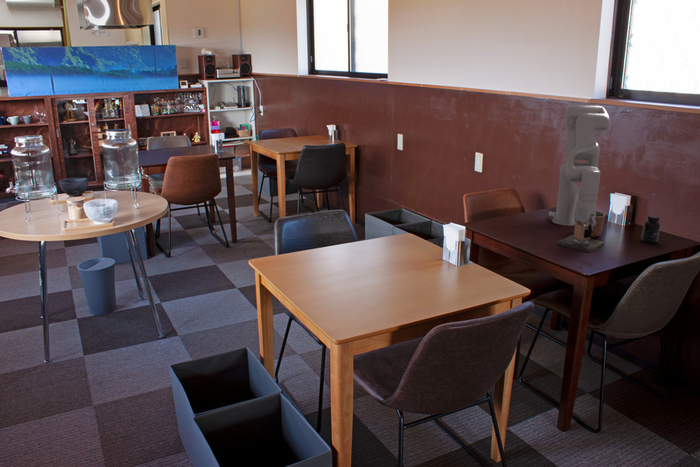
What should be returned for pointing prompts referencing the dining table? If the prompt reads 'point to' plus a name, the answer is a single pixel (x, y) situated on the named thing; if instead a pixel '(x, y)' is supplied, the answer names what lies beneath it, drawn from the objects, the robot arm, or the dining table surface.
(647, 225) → the supplement bottle
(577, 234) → the wooden mug
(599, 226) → the planter
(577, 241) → the cylinder on square base
